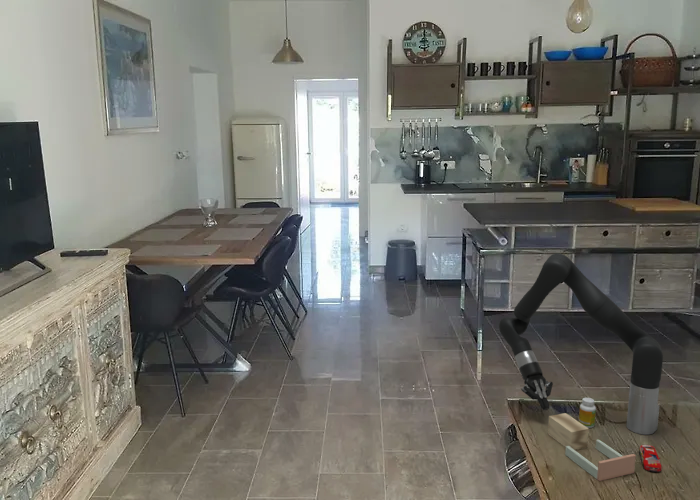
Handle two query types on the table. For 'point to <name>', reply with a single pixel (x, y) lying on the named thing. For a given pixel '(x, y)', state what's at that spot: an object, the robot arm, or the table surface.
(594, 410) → the supplement bottle
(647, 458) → the race car
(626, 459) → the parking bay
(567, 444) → the oak block
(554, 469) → the table surface
